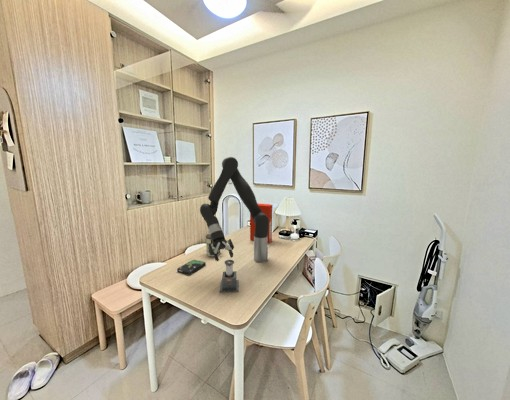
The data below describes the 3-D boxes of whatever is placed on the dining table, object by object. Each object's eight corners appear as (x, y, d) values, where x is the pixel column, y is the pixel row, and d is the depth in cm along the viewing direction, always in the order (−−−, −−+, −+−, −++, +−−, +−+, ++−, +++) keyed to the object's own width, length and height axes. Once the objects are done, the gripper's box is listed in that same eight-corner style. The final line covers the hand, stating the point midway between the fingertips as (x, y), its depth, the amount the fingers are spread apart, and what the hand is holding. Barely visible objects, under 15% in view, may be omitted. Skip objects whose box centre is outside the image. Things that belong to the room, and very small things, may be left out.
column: (234, 281, 117) (234, 259, 115) (234, 287, 112) (233, 263, 110) (225, 282, 117) (224, 259, 115) (224, 287, 112) (224, 264, 110)
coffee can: (222, 251, 161) (222, 233, 159) (217, 257, 151) (216, 238, 149) (209, 250, 163) (209, 232, 161) (204, 255, 153) (203, 237, 151)
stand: (238, 281, 120) (238, 269, 119) (238, 291, 110) (238, 279, 109) (221, 281, 119) (220, 270, 118) (219, 292, 110) (219, 280, 108)
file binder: (268, 243, 177) (269, 206, 172) (250, 240, 184) (250, 204, 178) (271, 240, 185) (272, 204, 179) (253, 237, 191) (253, 202, 186)
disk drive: (189, 276, 126) (206, 265, 139) (189, 272, 125) (205, 262, 138) (177, 272, 130) (193, 262, 143) (176, 268, 130) (193, 258, 143)
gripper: (206, 232, 117) (214, 259, 110) (229, 228, 125) (238, 253, 117) (203, 238, 122) (211, 264, 115) (225, 234, 130) (234, 258, 123)
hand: (225, 258), depth 116 cm, fingers open, 8 cm apart
